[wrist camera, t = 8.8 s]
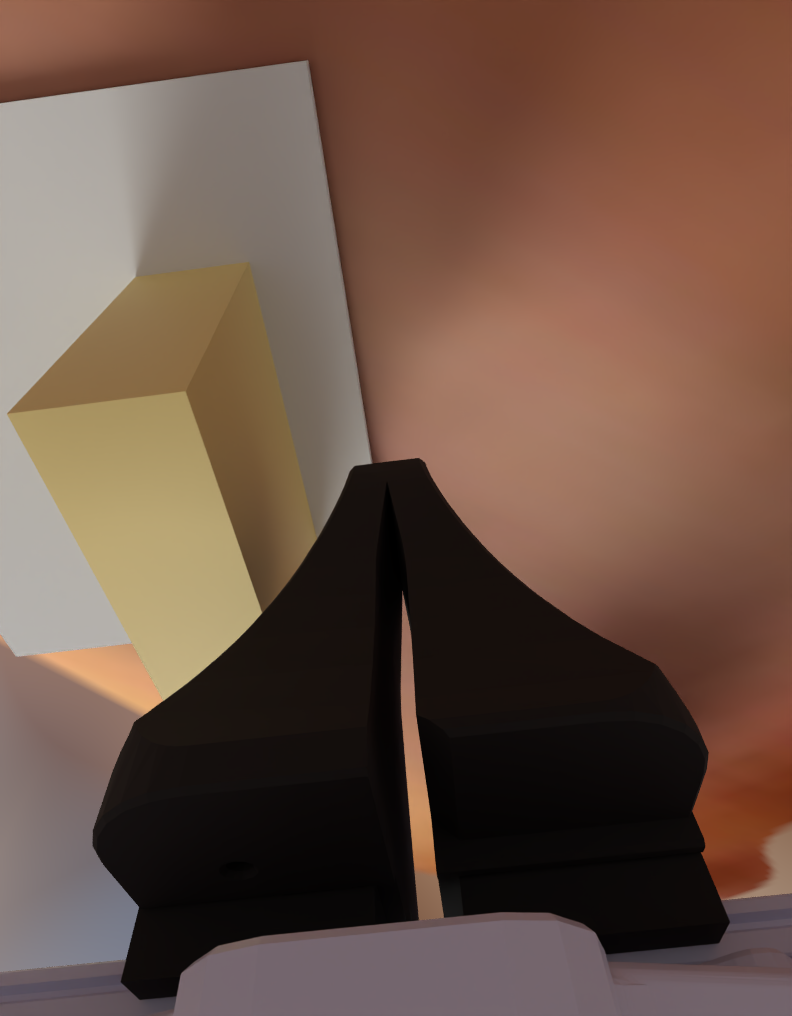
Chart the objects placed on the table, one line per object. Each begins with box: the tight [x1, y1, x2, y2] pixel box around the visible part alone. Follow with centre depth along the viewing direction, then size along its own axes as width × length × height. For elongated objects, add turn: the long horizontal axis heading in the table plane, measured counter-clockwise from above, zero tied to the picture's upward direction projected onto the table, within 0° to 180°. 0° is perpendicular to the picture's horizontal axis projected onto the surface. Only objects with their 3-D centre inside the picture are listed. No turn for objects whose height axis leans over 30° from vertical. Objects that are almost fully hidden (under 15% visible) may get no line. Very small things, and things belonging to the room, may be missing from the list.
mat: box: [0, 60, 373, 657], centre depth 16 cm, size 14×12×1 cm
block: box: [7, 262, 317, 701], centre depth 13 cm, size 8×2×6 cm, turn 6°
